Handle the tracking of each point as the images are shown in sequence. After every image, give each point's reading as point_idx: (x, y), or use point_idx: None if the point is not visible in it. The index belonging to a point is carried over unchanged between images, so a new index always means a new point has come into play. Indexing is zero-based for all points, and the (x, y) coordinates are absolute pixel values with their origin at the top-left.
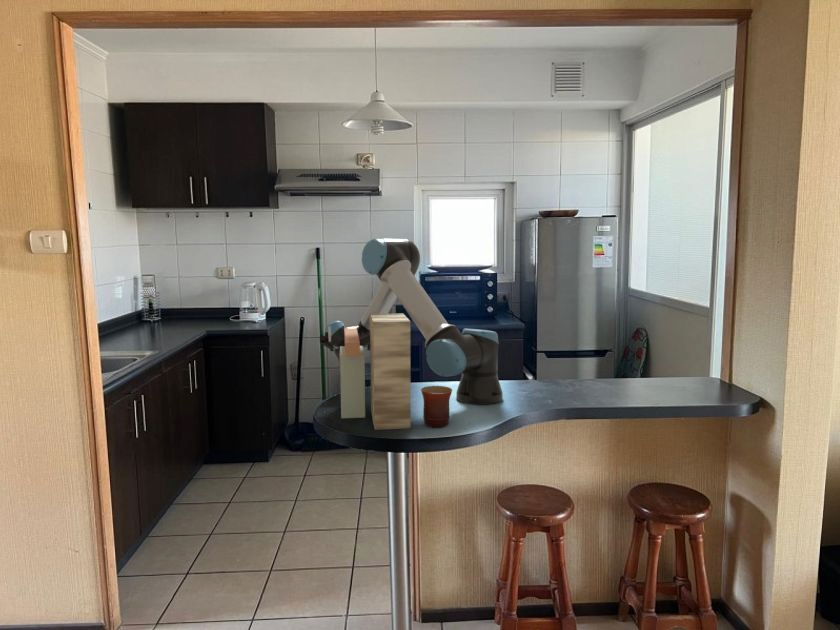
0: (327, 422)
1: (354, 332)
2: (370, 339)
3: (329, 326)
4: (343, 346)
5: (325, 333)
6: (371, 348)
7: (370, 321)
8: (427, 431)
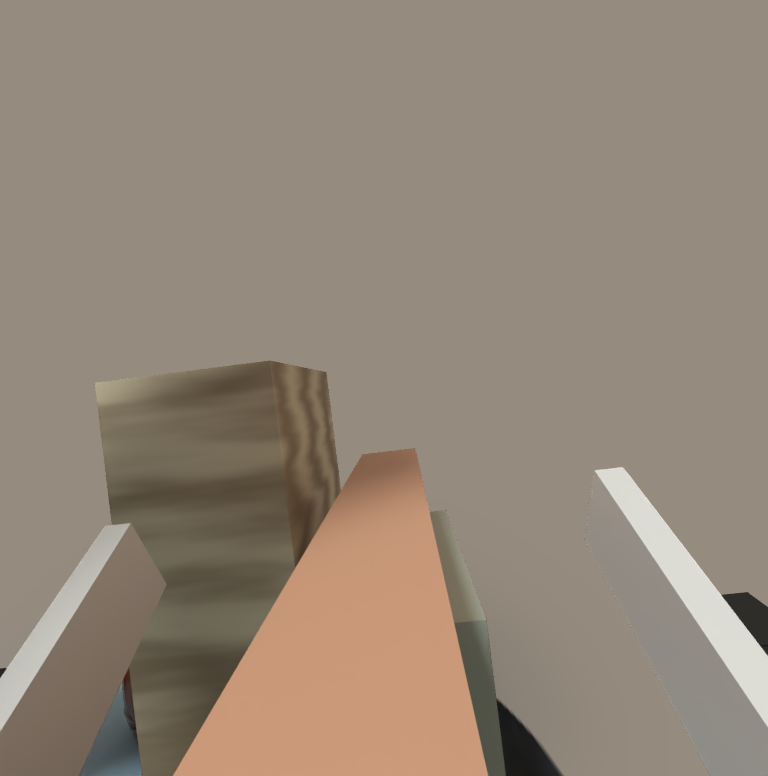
0: (525, 743)
1: (339, 538)
2: (292, 489)
3: (607, 470)
4: (454, 613)
5: (740, 606)
6: (313, 498)
7: (285, 394)
8: None
